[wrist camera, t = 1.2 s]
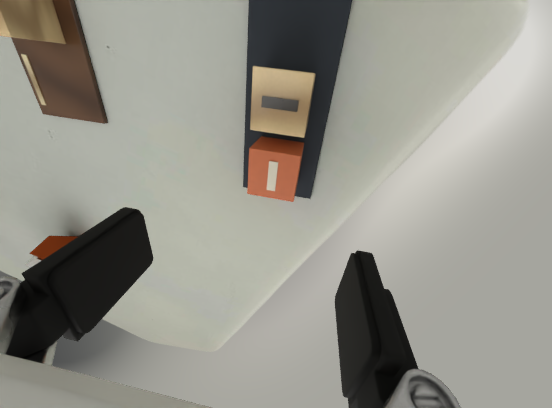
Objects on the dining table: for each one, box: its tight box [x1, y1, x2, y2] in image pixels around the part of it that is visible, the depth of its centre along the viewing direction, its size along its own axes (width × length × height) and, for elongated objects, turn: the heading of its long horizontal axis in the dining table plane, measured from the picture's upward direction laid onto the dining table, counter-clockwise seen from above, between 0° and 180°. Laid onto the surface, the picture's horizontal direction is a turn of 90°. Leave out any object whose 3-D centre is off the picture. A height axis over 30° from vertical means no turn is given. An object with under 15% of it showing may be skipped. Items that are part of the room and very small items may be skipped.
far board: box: [11, 0, 108, 124], centre depth 20 cm, size 20×8×1 cm, turn 174°
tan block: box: [250, 66, 316, 138], centre depth 19 cm, size 4×4×5 cm
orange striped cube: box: [247, 136, 304, 202], centre depth 22 cm, size 4×4×5 cm
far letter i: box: [0, 0, 66, 44], centre depth 19 cm, size 4×4×5 cm
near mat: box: [243, 0, 352, 199], centre depth 21 cm, size 18×8×1 cm, turn 174°
